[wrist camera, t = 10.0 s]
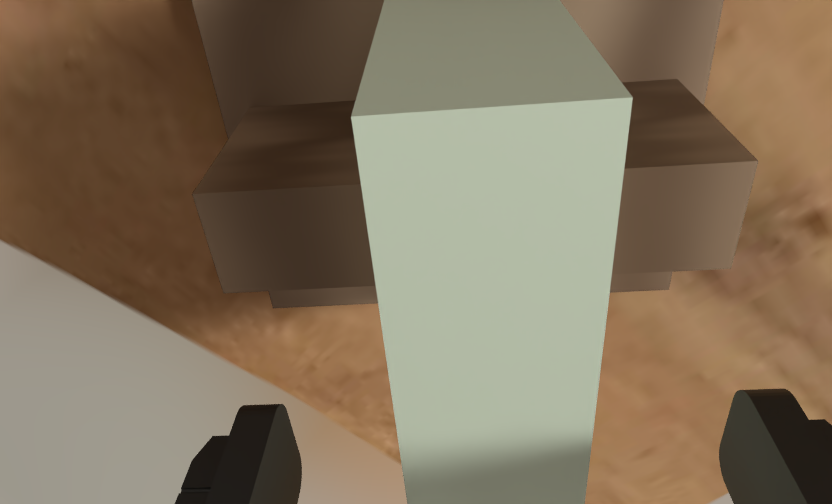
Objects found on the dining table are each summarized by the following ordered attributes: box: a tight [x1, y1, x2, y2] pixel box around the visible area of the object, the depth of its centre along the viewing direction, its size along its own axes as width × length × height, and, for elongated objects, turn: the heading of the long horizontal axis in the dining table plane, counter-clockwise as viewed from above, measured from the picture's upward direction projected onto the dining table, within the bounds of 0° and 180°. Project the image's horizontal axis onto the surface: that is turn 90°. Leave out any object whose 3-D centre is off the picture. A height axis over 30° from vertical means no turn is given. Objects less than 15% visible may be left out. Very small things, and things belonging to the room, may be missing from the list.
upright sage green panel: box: [351, 0, 633, 504], centre depth 16 cm, size 3×12×13 cm, turn 5°
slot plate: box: [192, 0, 758, 308], centre depth 19 cm, size 16×14×7 cm
